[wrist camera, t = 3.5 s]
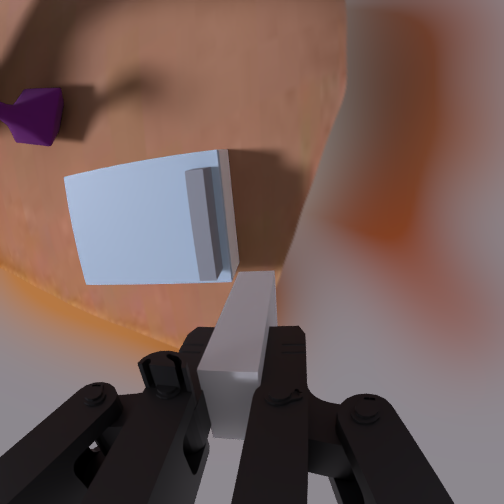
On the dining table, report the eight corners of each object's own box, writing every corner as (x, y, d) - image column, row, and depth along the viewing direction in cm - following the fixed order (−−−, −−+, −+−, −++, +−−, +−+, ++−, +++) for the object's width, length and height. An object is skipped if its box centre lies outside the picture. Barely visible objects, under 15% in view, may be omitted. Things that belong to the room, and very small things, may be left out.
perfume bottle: (38, 90, 32) (-60, 86, 15) (75, 90, 32) (-31, 79, 15) (30, 140, 35) (-69, 155, 18) (66, 145, 34) (-42, 160, 18)
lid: (89, 282, 35) (72, 295, 31) (67, 176, 31) (47, 181, 27) (232, 278, 33) (226, 295, 29) (218, 149, 29) (208, 150, 25)
